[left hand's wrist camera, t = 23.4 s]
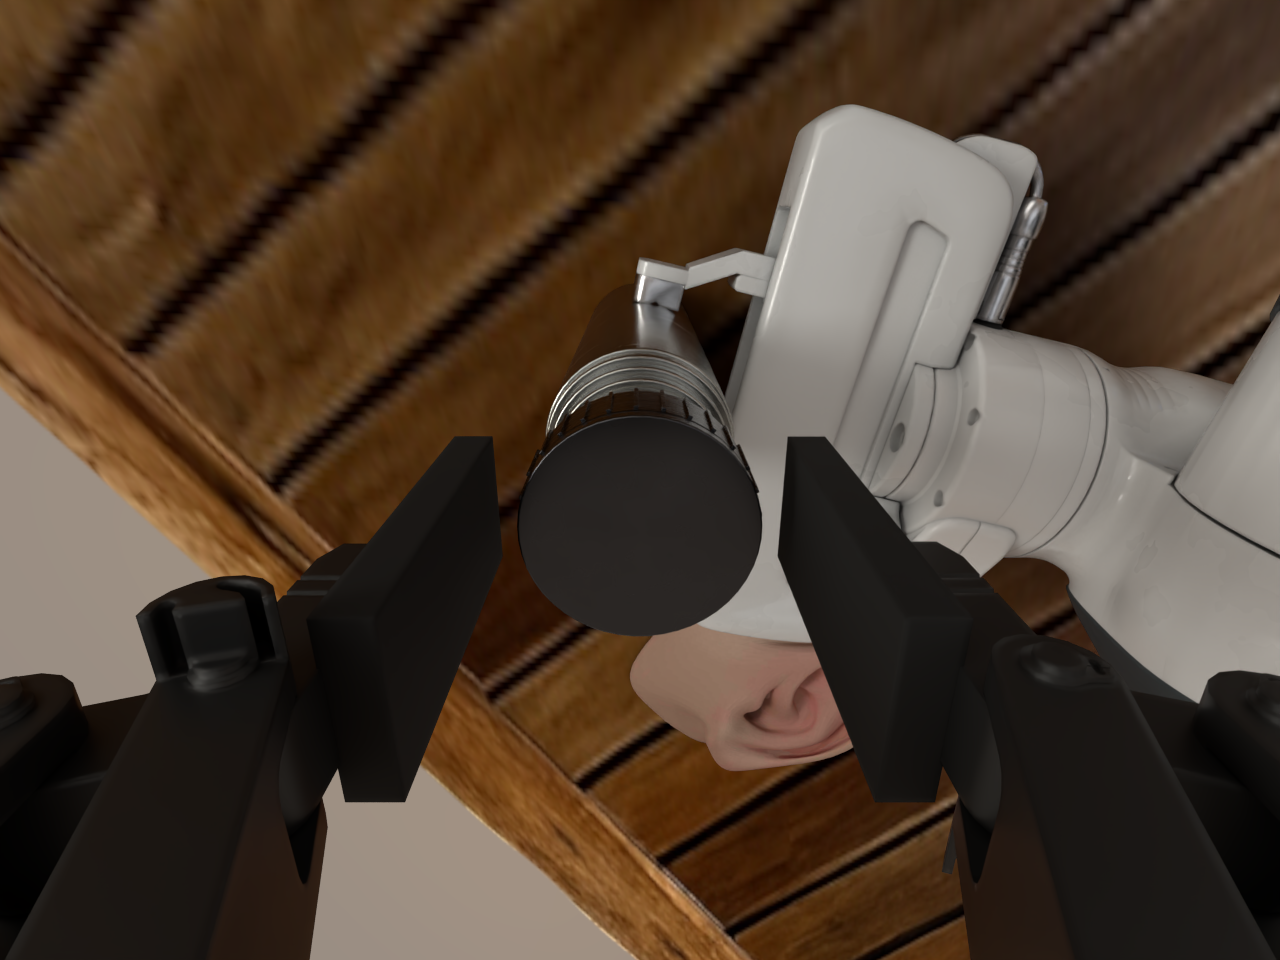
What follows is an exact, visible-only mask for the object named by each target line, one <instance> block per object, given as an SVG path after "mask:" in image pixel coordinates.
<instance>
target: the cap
mask: <svg viewBox="0 0 1280 960" xmlns="http://www.w3.org/2000/svg"><path fill="white" fill-rule="evenodd" d="M527 476H528V477H527V479H526V482H525V484H524V486H523V489H522V491H521V493H520V496H519V499H521V501H520V506H519V510H518V522H517V530H518V541H519V545H520V550H521V554H522V557H523V560H524V562H525V565H526V567H527V570H528V571H529V573H530V575H531V577H532V579H533V580H534V582H535V583H536V585H537V586H538V587H539V589H540V590H541V591H542V593H543V594H544V595H545V596H546V597H547V598H548V599H549V600H550V601H551V602H552V603H553V604H554V605H555V606H557V607H558V608H559V609H560V610H561V611H563V612H564V613H566V614H567V615H569V616H570V617H572V618H574V619H575V620H577V621H579V622H581V623H583V624H585V625H587V626H589V627H592V628H595V629H598V630H601V631H604V632H609V633H613V634H618V635H627V636H653V635H662V634H667V633H671V632H675V631H679V630H682V629H685V628H687V627H690V626H693V625H695V624H697V623H699V622H701V621H703V620H705V619H706V618H708V617H709V616H711V615H713V614H714V613H716V612H717V611H718V610H720V609H721V608H722V607H723V606H724V605H726V604H727V603H728V602H729V601H730V600H731V599H732V598H733V597H734V596H735V595H736V593H737V592H738V591H739V590H740V588H741V587H742V586H743V584H744V583H745V581H746V580H747V578H748V576H749V575H750V573H751V571H752V569H753V567H754V564H755V562H756V559H757V556H758V553H759V549H760V544H761V540H762V525H763V524H762V511H761V506H760V502H759V498H758V494H757V493H759V489H758V487H757V484H756V482H755V480H754V477H753V475H752V472H751V470H750V467H749V464H748V462H747V459H746V457H745V455H744V452H743V450H742V448H741V446H740V444H738V445H736V443H735V441H734V440H733V438H732V436H731V434H730V432H729V429H728V427H727V426H726V425H724V426H722V425H721V424H720V423H719V422H718V421H717V420H716V419H715V418H714V417H713V416H712V415H711V412H710V410H708V409H706V410H703V409H702V408H700V407H698V406H696V405H695V404H693V403H691V402H689V399H688V398H686V397H684V399H681V398H679V397H676V396H673V395H669V394H665V393H664V390H660V392H652V391H639V388H634V391H628V392H620V393H615V394H614V393H613V391H612V392H609V395H607V396H604V397H601V398H598V399H596V400H593V401H591V402H590V400H587V401H585V404H584V405H583V406H582V407H580V408H578V409H576V410H575V411H574V412H572V413H571V414H570V415H569V413H566V414H565V415H564V418H563V421H562V422H561V423H560V424H559V425H558V426H557V427H556V428H555V429H554V430H553V431H552V430H549V432H548V433H547V436H546V438H545V441H544V443H543V445H542V448H541V450H538V449H537V451H536V454H535V456H534V458H533V461H532V463H531V465H530V468H529V470H528V472H527Z"/></svg>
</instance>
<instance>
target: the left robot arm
mask: <svg viewBox="0 0 1280 960" xmlns="http://www.w3.org/2000/svg"><path fill="white" fill-rule="evenodd" d="M502 556H503V555H502V544H501V532H500V520H499V508H498V496H497V485H496V473H495V461H494V449H493V438H492V436H455V437H454V438H453V439H452V441H451V442H450V443H449V444H448V446H447V447H446V448H445V449H444V450H443V452H442V453H441V454H440V455H439V457H438V458H437V459H436V460H435V461H434V463H433V464H432V465H431V466H430V468H429V469H428V470H427V471H426V472H425V474H424V475H423V476H422V477H421V479H420V480H419V481H418V482H417V483H416V485H415V486H414V487H413V488H412V490H411V491H410V492H409V493H408V494H407V496H406V497H405V498H404V499H403V501H402V502H401V503H400V504H399V506H398V507H397V508H396V509H395V510H394V512H393V513H392V514H391V515H390V517H389V518H388V519H387V520H386V521H385V523H384V524H383V525H382V526H381V528H380V529H379V530H378V531H377V532H376V534H375V535H374V536H373V537H372V539H371V540H370V541H369V542H368V543H367V544H343V545H341V546H339V547H337V548H336V549H334V550H332V551H330V552H328V553H327V554H325V555H323V556H321V557H320V558H318V559H317V560H316V561H315V562H314V563H313V564H312V565H311V566H310V567H309V568H308V569H307V570H306V572H305V573H304V574H303V575H302V576H301V580H297V581H296V582H295V583H294V585H293V586H292V587H291V588H290V589H289V590H288V591H287V595H283V596H282V597H281V599H280V600H279V601H278V602H277V600H276V596H275V591H274V587H273V585H271V584H270V583H269V582H267V581H266V580H264V579H263V578H257V577H251V576H246V575H243V576H223V577H217V578H213V579H208V580H203V581H198V582H195V583H192V584H189V585H186V586H183V587H181V588H178V589H175V590H172V591H170V592H168V593H166V594H165V595H163V596H161V597H159V598H158V599H156V600H154V601H152V602H150V603H149V604H148V605H147V606H146V607H145V608H144V609H143V610H142V611H141V612H139V613H138V614H137V615H136V618H137V621H138V625H139V628H140V631H141V634H142V637H143V640H144V643H145V646H146V649H147V652H148V656H149V659H150V662H151V665H152V668H153V671H154V674H155V677H156V682H155V684H154V686H153V688H152V689H151V691H150V693H148V694H144V695H139V696H134V697H129V698H124V699H119V700H114V701H109V702H103V703H98V704H93V705H88V706H83V707H82V705H81V702H80V700H79V697H78V694H77V692H76V689H75V687H74V684H73V682H71V681H70V680H68V679H67V678H65V677H64V676H62V675H54V674H43V673H41V674H33V675H26V676H19V677H17V676H15V677H10V678H6V679H1V680H0V960H309V959H310V952H311V945H312V938H313V930H314V923H315V915H316V908H317V901H318V894H319V887H320V879H321V872H322V864H323V857H324V850H325V842H326V835H327V828H328V826H327V819H326V812H325V808H324V804H323V799H322V797H323V795H324V793H325V791H326V789H327V787H328V785H329V784H330V782H331V780H332V778H333V776H334V774H335V772H336V771H337V769H338V771H339V776H340V780H341V785H342V790H343V794H344V799H345V802H405V801H406V798H407V796H408V793H409V791H410V788H411V786H412V783H413V781H414V778H415V776H416V773H417V771H418V768H419V766H420V763H421V760H422V758H423V755H424V753H425V750H426V748H427V745H428V743H429V740H430V738H431V735H432V733H433V730H434V728H435V725H436V723H437V720H438V718H439V715H440V713H441V710H442V708H443V705H444V703H445V700H446V697H447V695H448V692H449V690H450V687H451V685H452V682H453V680H454V677H455V675H456V672H457V670H458V667H459V665H460V662H461V660H462V657H463V655H464V652H465V650H466V647H467V645H468V642H469V640H470V637H471V634H472V632H473V629H474V627H475V624H476V622H477V619H478V617H479V614H480V612H481V609H482V607H483V604H484V602H485V599H486V597H487V594H488V592H489V589H490V587H491V584H492V582H493V579H494V577H495V574H496V571H497V569H498V566H499V564H500V561H501V559H502ZM777 556H778V559H779V561H780V564H781V566H782V569H783V571H784V574H785V577H786V579H787V582H788V584H789V587H790V589H791V592H792V594H793V597H794V599H795V602H796V604H797V607H798V609H799V612H800V614H801V617H802V619H803V622H804V624H805V627H806V629H807V632H808V634H809V637H810V640H811V642H812V645H813V647H814V650H815V652H816V655H817V657H818V660H819V662H820V665H821V667H822V670H823V672H824V675H825V677H826V680H827V682H828V685H829V687H830V690H831V692H832V695H833V697H834V700H835V703H836V705H837V708H838V710H839V713H840V715H841V718H842V720H843V723H844V725H845V728H846V730H847V733H848V735H849V738H850V740H851V743H852V745H853V748H854V750H855V753H856V755H857V758H858V761H859V763H860V766H861V768H862V771H863V773H864V776H865V778H866V781H867V783H868V786H869V788H870V791H871V793H872V796H873V798H874V801H875V802H935V799H936V794H937V790H938V785H939V780H940V776H941V771H942V766H943V767H944V769H945V771H946V773H947V774H948V776H949V778H950V780H951V782H952V784H953V785H954V787H955V789H956V791H957V793H958V799H957V804H956V808H955V812H954V816H953V821H952V825H951V829H950V834H949V838H948V842H947V847H946V851H945V855H944V862H943V868H942V872H945V873H949V874H952V871H953V867H954V863H955V859H956V858H957V863H958V870H959V877H960V885H961V892H962V899H963V907H964V914H965V921H966V929H967V936H968V943H969V950H970V958H971V960H1280V676H1277V675H1273V674H1268V673H1257V672H1250V671H1242V670H1235V671H1225V672H1218V673H1217V674H1216V675H1214V676H1213V677H1211V678H1210V679H1208V681H1207V684H1206V687H1205V689H1204V692H1203V694H1202V697H1201V700H1200V702H1199V703H1194V702H1188V701H1183V700H1178V699H1173V698H1168V697H1163V696H1157V695H1152V694H1147V693H1142V692H1137V691H1133V690H1129V688H1128V686H1127V684H1126V683H1125V681H1124V679H1123V678H1122V677H1121V676H1120V674H1119V673H1118V672H1117V671H1116V670H1115V669H1114V667H1113V666H1112V665H1111V664H1109V663H1108V662H1106V661H1105V660H1103V659H1102V658H1100V657H1099V656H1097V655H1096V654H1094V653H1093V652H1091V651H1089V650H1086V649H1084V648H1082V647H1079V646H1077V645H1075V644H1072V643H1070V642H1068V641H1064V640H1060V639H1056V638H1051V637H1047V636H1043V635H1036V634H1035V633H1034V632H1033V631H1032V630H1031V629H1030V628H1029V627H1028V625H1027V624H1026V623H1025V622H1024V621H1023V620H1022V619H1021V618H1020V617H1019V616H1018V615H1017V614H1016V613H1015V611H1014V610H1013V609H1012V608H1011V607H1010V606H1009V605H1008V604H1007V603H1006V602H1005V601H1004V600H1003V599H1002V598H1001V596H1000V595H999V594H998V593H994V589H993V588H992V587H991V586H990V585H989V584H988V583H987V581H986V580H985V579H984V578H980V574H979V573H978V572H977V571H976V570H975V569H974V568H973V566H972V565H971V564H970V563H969V562H968V561H967V560H966V559H965V558H964V557H963V556H961V555H960V554H958V553H956V552H954V551H953V550H951V549H949V548H947V547H945V546H944V545H942V544H940V543H938V542H937V541H910V540H909V539H908V537H907V536H906V535H905V534H904V532H903V531H902V530H901V529H900V528H899V526H898V525H897V524H896V523H895V521H894V520H893V519H892V518H891V517H890V515H889V514H888V513H887V512H886V510H885V509H884V508H883V507H882V506H881V504H880V503H879V502H878V501H877V499H876V498H875V497H874V496H873V495H872V493H871V492H870V491H869V490H868V488H867V487H866V486H865V485H864V483H863V482H862V481H861V480H860V479H859V477H858V476H857V475H856V474H855V472H854V471H853V470H852V469H851V468H850V466H849V465H848V464H847V463H846V461H845V460H844V459H843V458H842V457H841V455H840V454H839V453H838V452H837V450H836V449H835V448H834V447H833V446H832V444H831V443H830V442H829V441H828V439H827V438H826V437H825V436H788V438H787V449H786V461H785V473H784V485H783V496H782V508H781V520H780V532H779V543H778V555H777Z"/></svg>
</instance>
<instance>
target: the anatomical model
mask: <svg viewBox="0 0 1280 960" xmlns="http://www.w3.org/2000/svg"><path fill="white" fill-rule="evenodd" d="M630 681H631V684H632V687H633V689H634V690H635V692H636V693H637V695H638V696H639V697H640V698H641V699H642V700H643V701H644V702H645V703H646V704H647V705H648V706H649V707H650V708H651V709H652V710H653V711H655V712H656V713H657V714H658V715H659V716H660V717H661V718H663V719H664V720H665V721H666V722H667V723H669V724H670V725H672V726H673V727H675V728H676V729H678V730H679V731H681V732H682V733H684V734H685V735H687V736H689V737H691V738H692V739H695V740H697V741H700V742H704V743H706V744H707V746H708V748H709V750H710V752H711V754H712V756H713V758H714V760H715V761H716V762H717V764H718V765H720V766H721V767H722V768H724V769H727V770H730V771H744V770H754V769H762V768H770V767H778V766H786V765H794V764H802V763H808V762H813V761H818V760H822V759H826V758H829V757H833V756H835V755H838V754H840V753H843V752H845V751H847V750H849V749H851V748H853V745H852V743H851V740H850V738H849V735H848V733H847V730H846V728H845V725H844V723H843V720H842V718H841V715H840V713H839V710H838V708H837V705H836V703H835V700H834V697H833V695H832V692H831V690H830V687H829V685H828V682H827V680H826V677H825V675H824V672H823V670H822V667H821V665H820V662H819V660H818V657H817V655H816V652H815V650H814V647H813V645H812V643H802V642H788V641H777V640H769V639H761V638H754V637H747V636H741V635H735V634H729V633H724V632H719V631H715V630H710V629H707V628H704V627H702V626H700V625H698V624H695V625H693V626H690V627H687V628H685V629H682V630H679V631H675V632H671V633H667V634H662V635H653V636H652V638H651V639H650V640H649V641H648V642H647V644H646V645H645V646H644V647H643V649H642V650H641V652H640V653H639V655H638V656H637V658H636V660H635V661H634V663H633V666H632V669H631V672H630Z"/></svg>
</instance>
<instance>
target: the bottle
mask: <svg viewBox="0 0 1280 960" xmlns="http://www.w3.org/2000/svg"><path fill="white" fill-rule="evenodd" d="M633 286H634V283H633V284H628V285H624V286H621V287H619V288H617V289H615V290H613V291H612V292H610V293H609V294H608V295H607V296H606V297H604V298H603V300H602V301H601V302H600V303H599V304H598V306H597V307H596V309H595V311H594V313H593V315H592V317H591V320H590V322H589V324H588V326H587V329H586V331H585V333H584V335H583V337H582V340H581V342H580V344H579V346H578V348H577V351H576V353H575V355H574V357H573V360H572V362H571V364H570V366H569V368H568V371H567V373H566V375H565V377H564V379H563V382H562V384H561V386H560V388H559V391H558V393H557V395H556V397H555V399H554V402H553V404H552V406H551V409H550V412H549V415H548V419H547V425H546V436H547V433H548V432H549V430H552V431H553V430H554V429H555V428H556V427H557V426H558V425H559V424H560V423H561V422H562V421H563V418H564V415H565V414H566V413H569V415H570V414H571V413H572V412H574V411H575V410H576V409H578V408H580V407H582V406H583V405H584V404H585V401H587V400H590V402H591V401H593V400H596V399H598V398H601V397H604V396H607V395H609V392H612V391H613V393H614V394H615V393H620V392H628V391H634V388H639V391H652V392H660V390H664V393H665V394H669V395H673V396H676V397H679V398H681V399H684V397H686V398H688V399H689V402H691V403H693V404H695V405H696V406H698V407H700V408H702V409H703V410H706V409H708V410H710V412H711V415H712V416H713V417H714V418H715V419H716V420H717V421H718V422H719V423H720V424H721V425H722V426H724V425H726V426H727V427H728V429H729V432H730V434H731V436H732V438H733V440H734V426H733V419H732V416H731V412H730V409H729V406H728V404H727V402H726V400H725V397H724V395H723V393H722V391H721V389H720V386H719V384H718V382H717V380H716V377H715V375H714V373H713V371H712V369H711V366H710V364H709V362H708V360H707V357H706V355H705V353H704V351H703V349H702V346H701V344H700V342H699V340H698V337H697V335H696V333H695V331H694V328H693V326H692V324H691V322H690V320H689V317H688V315H687V313H686V311H685V309H684V307H683V306H682V304H681V303H680V306H679V310H678V311H675V310H670V309H666V308H663V307H661V306H659V305H658V304H657V302H654V303H651V304H646V303H640V302H637V301H634V300H632V299H631V296H632V291H633Z"/></svg>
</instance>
